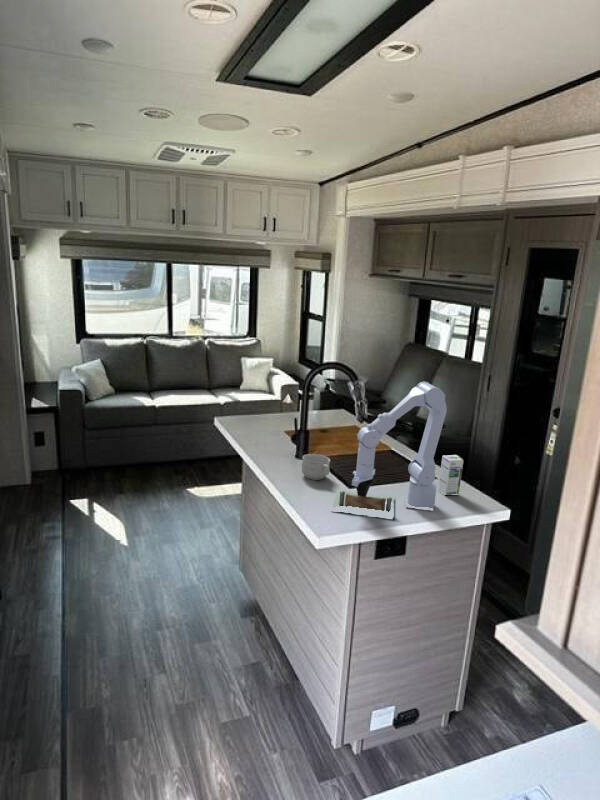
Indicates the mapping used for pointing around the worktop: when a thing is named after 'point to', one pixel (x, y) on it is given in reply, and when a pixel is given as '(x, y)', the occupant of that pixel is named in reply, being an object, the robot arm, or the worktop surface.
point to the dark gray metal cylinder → (342, 494)
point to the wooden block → (365, 502)
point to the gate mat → (337, 497)
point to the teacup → (315, 466)
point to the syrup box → (450, 474)
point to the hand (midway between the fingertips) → (361, 499)
